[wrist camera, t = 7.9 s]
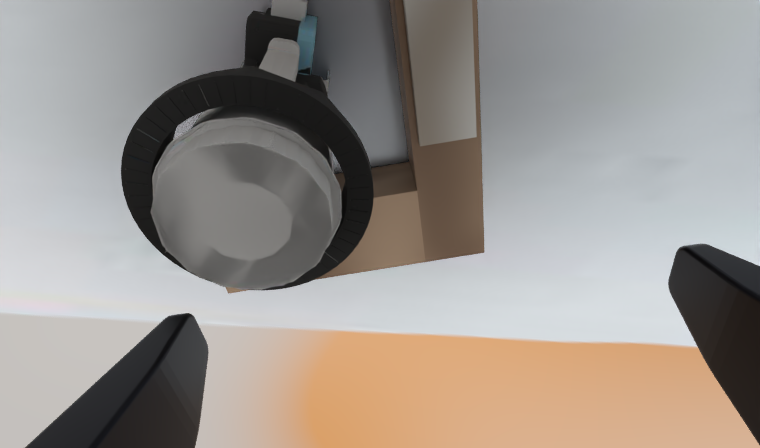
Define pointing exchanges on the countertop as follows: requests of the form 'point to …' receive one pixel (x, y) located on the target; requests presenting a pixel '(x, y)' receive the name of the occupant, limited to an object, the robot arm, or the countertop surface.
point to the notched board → (429, 145)
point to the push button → (252, 165)
